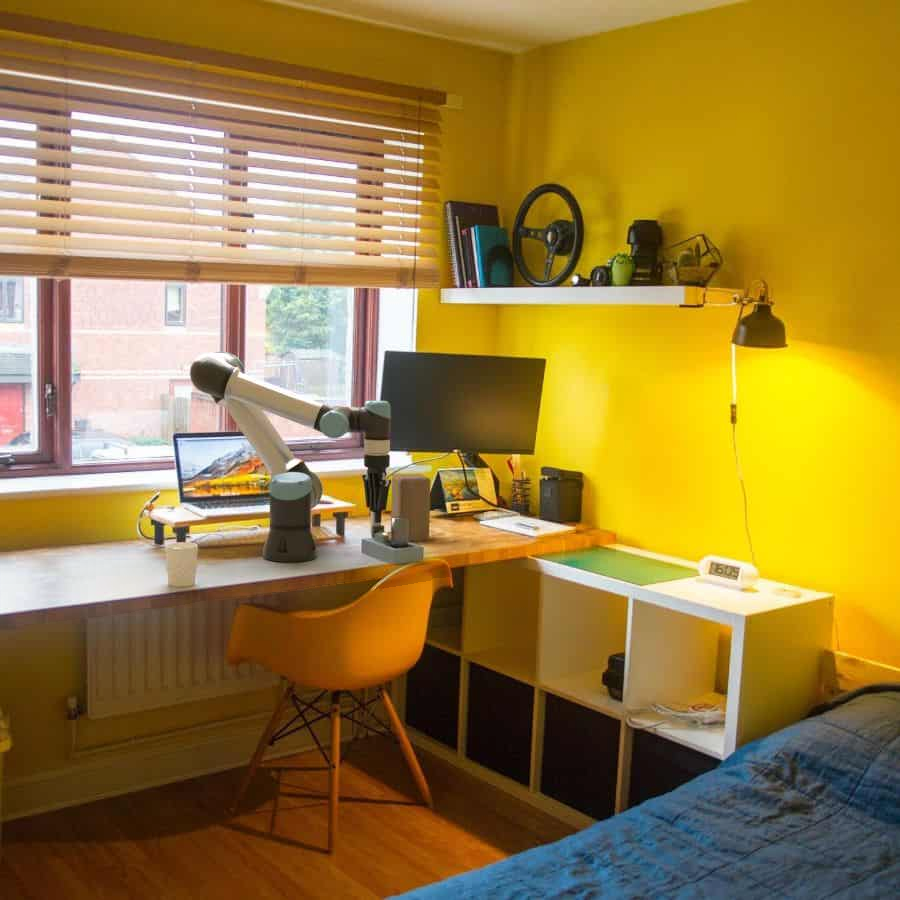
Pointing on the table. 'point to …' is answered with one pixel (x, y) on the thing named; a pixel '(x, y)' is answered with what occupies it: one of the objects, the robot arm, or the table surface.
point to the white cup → (181, 563)
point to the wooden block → (412, 503)
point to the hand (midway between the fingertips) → (375, 532)
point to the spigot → (399, 532)
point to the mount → (391, 550)
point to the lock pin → (380, 531)
